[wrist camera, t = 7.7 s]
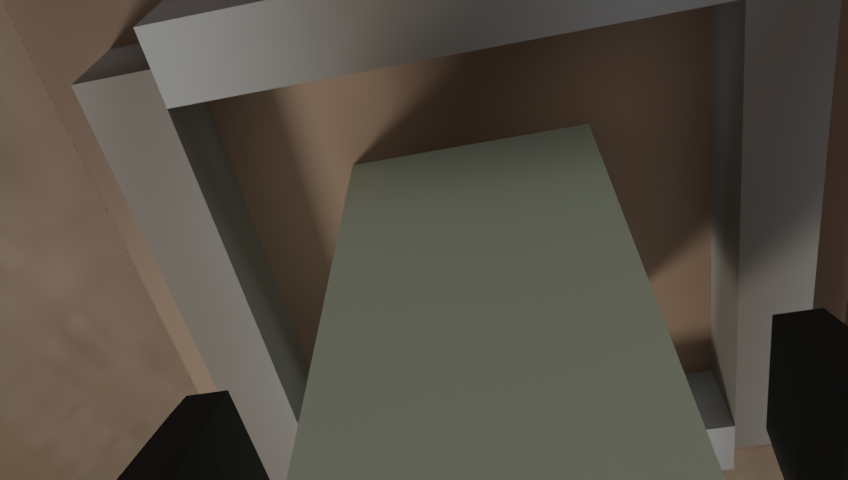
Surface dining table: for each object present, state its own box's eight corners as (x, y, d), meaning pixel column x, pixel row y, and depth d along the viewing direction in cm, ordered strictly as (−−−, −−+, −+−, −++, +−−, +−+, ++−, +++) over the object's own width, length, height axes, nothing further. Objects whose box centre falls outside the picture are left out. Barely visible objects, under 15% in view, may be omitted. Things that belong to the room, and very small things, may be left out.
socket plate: (879, -273, 10) (991, -277, 8) (811, 405, 17) (862, 497, 15) (5, -73, 12) (-88, -33, 10) (263, 473, 19) (241, 564, 17)
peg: (588, 123, 12) (757, 564, 6) (606, 311, 15) (745, 793, 8) (352, 165, 13) (257, 614, 6) (403, 341, 15) (372, 816, 8)
